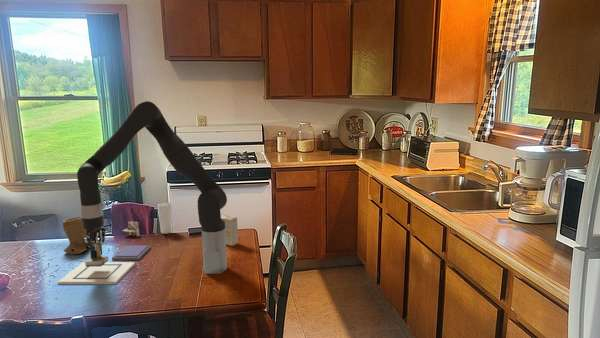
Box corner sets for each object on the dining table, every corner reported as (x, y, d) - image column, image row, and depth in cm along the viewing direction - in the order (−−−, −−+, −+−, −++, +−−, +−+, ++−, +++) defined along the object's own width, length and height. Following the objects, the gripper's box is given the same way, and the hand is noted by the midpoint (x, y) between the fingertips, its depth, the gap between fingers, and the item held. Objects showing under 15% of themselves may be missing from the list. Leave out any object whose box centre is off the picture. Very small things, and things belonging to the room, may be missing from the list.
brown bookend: (74, 243, 200) (70, 213, 197) (99, 243, 200) (96, 213, 197) (56, 256, 185) (52, 223, 182) (83, 255, 185) (79, 223, 182)
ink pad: (138, 260, 179) (138, 256, 179) (112, 260, 180) (111, 256, 179) (150, 248, 193) (150, 244, 193) (126, 248, 193) (125, 244, 193)
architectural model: (135, 238, 207) (134, 224, 206) (123, 237, 209) (121, 223, 207) (139, 236, 210) (138, 222, 209) (127, 235, 212) (126, 221, 211)
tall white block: (159, 235, 210) (156, 206, 207) (159, 231, 217) (157, 202, 214) (173, 233, 212) (171, 205, 209) (173, 229, 218) (171, 201, 216)
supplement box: (238, 243, 198) (237, 217, 195) (232, 246, 194) (230, 219, 191) (225, 240, 202) (224, 214, 200) (218, 243, 198) (217, 217, 196)
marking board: (115, 284, 157) (115, 281, 157) (57, 284, 158) (57, 281, 157) (135, 264, 175) (134, 261, 175) (83, 264, 175) (82, 261, 175)
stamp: (100, 266, 163) (98, 246, 161) (85, 266, 163) (83, 247, 161) (108, 260, 168) (106, 241, 167) (93, 260, 169) (91, 241, 167)
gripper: (92, 220, 155) (97, 264, 158) (110, 209, 169) (114, 250, 172) (72, 220, 155) (77, 264, 158) (92, 209, 169) (96, 250, 172)
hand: (96, 256), depth 165 cm, fingers closed on stamp, 3 cm apart
